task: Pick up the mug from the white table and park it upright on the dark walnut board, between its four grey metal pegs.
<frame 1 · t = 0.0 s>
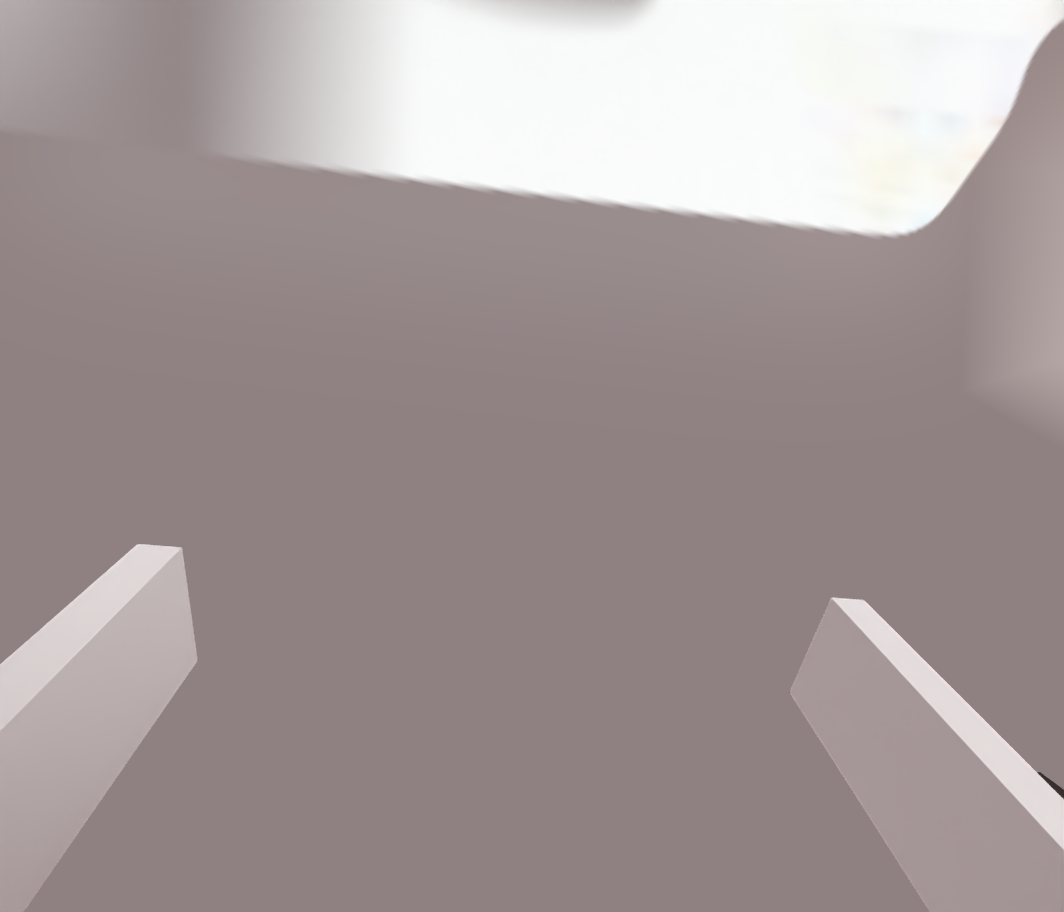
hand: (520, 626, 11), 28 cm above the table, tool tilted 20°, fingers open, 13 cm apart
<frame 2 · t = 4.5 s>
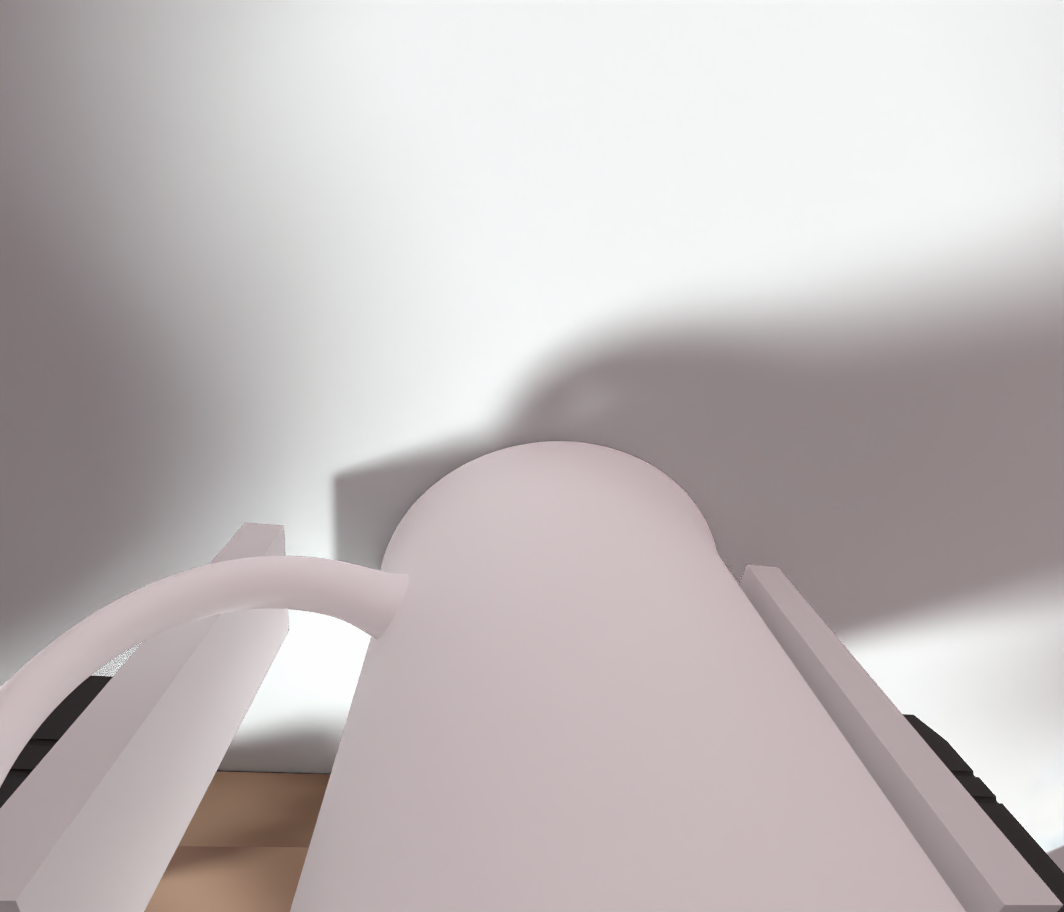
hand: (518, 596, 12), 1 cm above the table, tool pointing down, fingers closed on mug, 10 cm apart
mug: (502, 554, 13), on the table, touching gripper
when the fingers open (5 cm above the table, at t = 11.2 s): mug drops 1 cm, resting on peg board.
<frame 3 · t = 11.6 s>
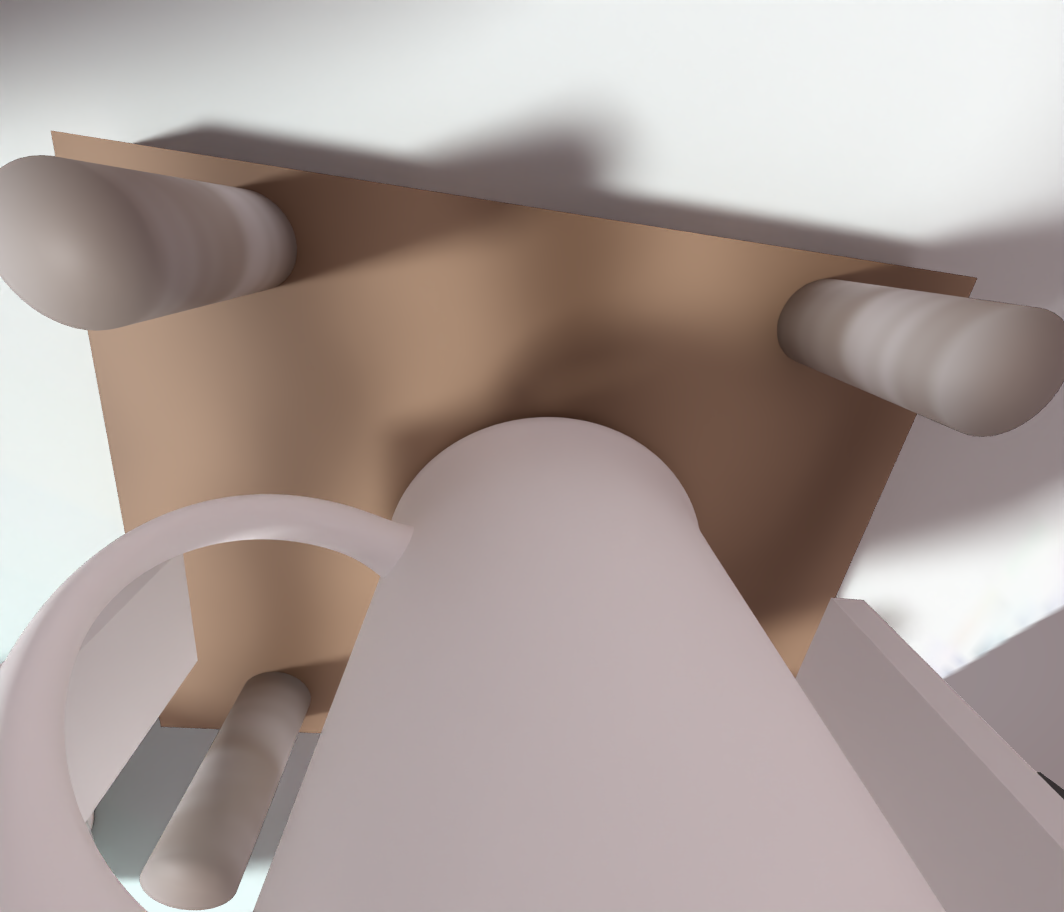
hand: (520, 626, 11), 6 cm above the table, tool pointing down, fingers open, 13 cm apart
peg board: (512, 498, 16), on the table
mug: (500, 522, 14), point 2 cm above the table, touching peg board
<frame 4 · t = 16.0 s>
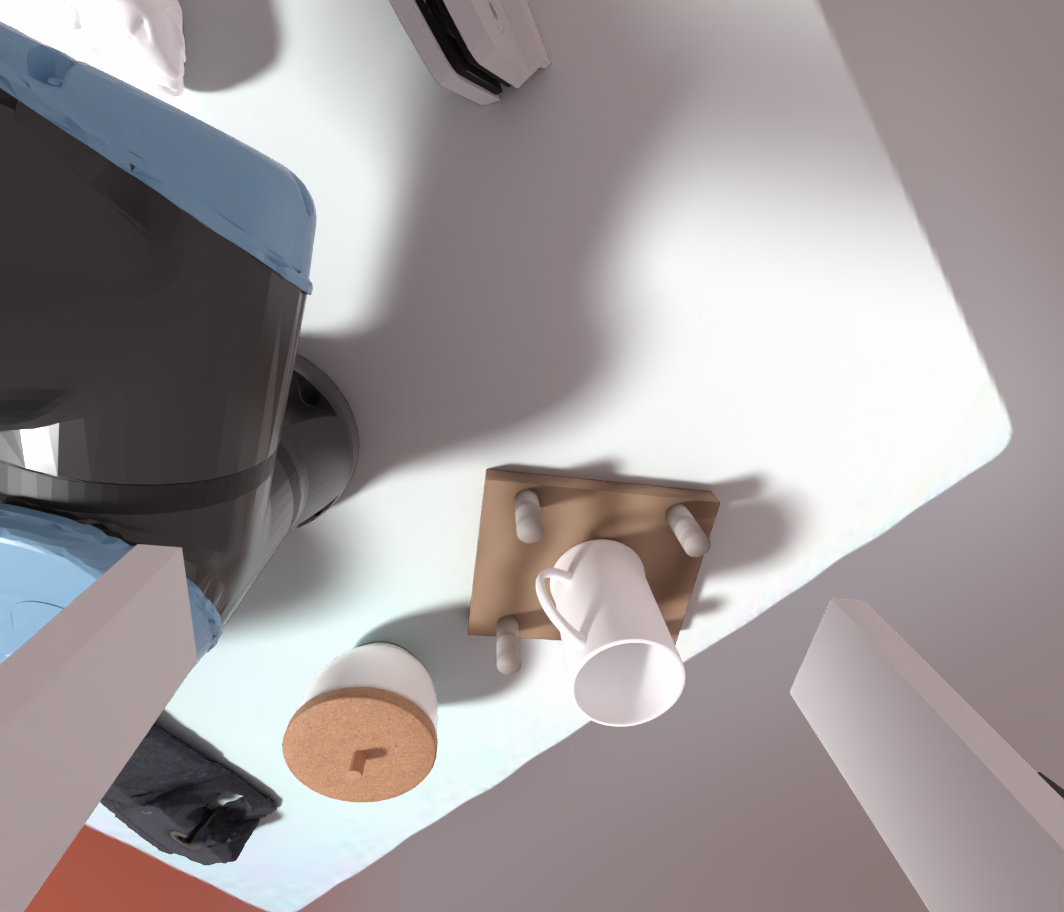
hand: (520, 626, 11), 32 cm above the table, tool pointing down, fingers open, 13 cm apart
lidded bowl: (382, 668, 52), on the table
peg board: (585, 558, 48), on the table
mug: (584, 567, 47), point 2 cm above the table, touching peg board
dark slate chunk: (168, 773, 57), on the table
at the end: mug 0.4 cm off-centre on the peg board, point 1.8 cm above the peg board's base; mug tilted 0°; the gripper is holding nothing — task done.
